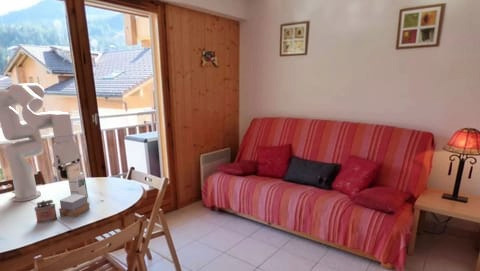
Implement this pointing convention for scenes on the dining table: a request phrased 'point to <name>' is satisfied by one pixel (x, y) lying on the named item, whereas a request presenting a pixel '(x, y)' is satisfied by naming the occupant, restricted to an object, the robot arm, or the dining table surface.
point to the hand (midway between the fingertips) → (70, 175)
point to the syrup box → (78, 185)
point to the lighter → (45, 212)
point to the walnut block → (74, 211)
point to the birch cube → (71, 170)
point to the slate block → (73, 201)
